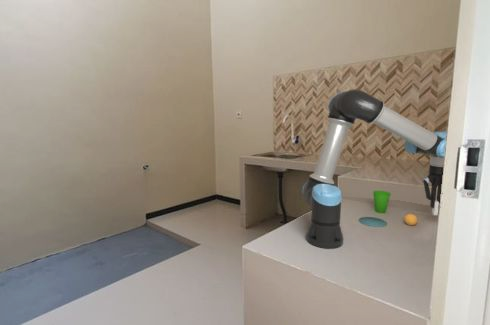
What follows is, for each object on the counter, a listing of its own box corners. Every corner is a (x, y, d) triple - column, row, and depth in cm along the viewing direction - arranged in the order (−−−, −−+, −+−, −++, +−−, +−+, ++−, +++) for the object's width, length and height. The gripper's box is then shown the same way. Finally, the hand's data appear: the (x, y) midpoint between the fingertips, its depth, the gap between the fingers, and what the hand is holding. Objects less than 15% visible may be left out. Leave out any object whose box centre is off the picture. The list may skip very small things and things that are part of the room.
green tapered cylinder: (391, 215, 147) (393, 195, 146) (373, 214, 149) (375, 194, 147) (386, 209, 156) (388, 191, 154) (369, 208, 158) (371, 190, 156)
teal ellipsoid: (360, 225, 133) (360, 225, 133) (357, 216, 146) (357, 215, 146) (390, 228, 130) (390, 227, 130) (383, 218, 143) (383, 218, 143)
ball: (405, 226, 132) (406, 215, 131) (402, 222, 137) (403, 211, 136) (418, 227, 131) (419, 216, 130) (414, 223, 136) (415, 212, 135)
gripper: (451, 164, 129) (446, 212, 132) (420, 163, 132) (416, 210, 136) (459, 167, 121) (454, 218, 125) (426, 166, 125) (422, 215, 129)
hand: (434, 214), depth 130 cm, fingers closed
